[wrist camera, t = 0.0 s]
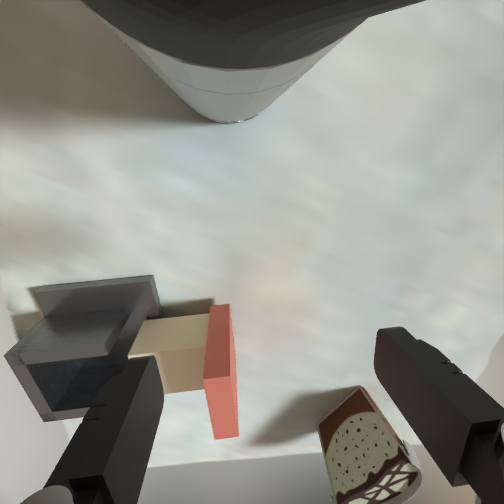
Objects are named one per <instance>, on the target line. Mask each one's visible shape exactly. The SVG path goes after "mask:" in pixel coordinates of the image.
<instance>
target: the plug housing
mask: <svg viewBox="0 0 504 504" xmlns="http://www.w3.org/2000/svg"><path fill="white" fill-rule="evenodd" d="M34 294H35V296H36V298H37V300H38V302H39V304H40V306H41V309H42V311H43V313H44V315H45V317H44V318H43V319H42V320H41V321H40V322H39V323H38V324H36V325H35V326H34V327H33V328H32V329H31V330H30V331H29V332H28V333H27V334H26V335H25V336H24V337H23V338H22V339H21V340H20V341H19V342H18V343H17V344H16V345H14V346H13V347H12V348H11V349H10V350H9V351H8V352H7V353H6V354H5V355H4V357H5V358H6V360H7V362H8V364H9V365H10V367H11V369H12V370H13V372H14V374H15V375H16V377H17V379H18V380H19V382H20V384H21V385H22V387H23V388H24V390H25V392H26V393H27V395H28V397H29V398H30V400H31V402H32V403H33V405H34V407H35V408H36V410H37V412H38V413H39V415H40V416H41V418H42V420H43V422H48V421H57V420H64V419H72V418H80V417H84V416H85V414H86V413H87V411H88V409H90V406H91V404H92V402H93V400H94V399H95V397H96V395H97V393H98V392H99V390H100V389H101V388H102V387H103V386H104V385H105V384H106V383H107V382H108V381H109V380H110V379H111V378H112V377H113V376H119V375H121V374H122V372H123V370H124V368H125V366H126V364H127V362H128V360H129V358H128V354H129V352H130V349H131V347H132V345H133V343H134V341H135V339H136V337H137V334H138V332H139V330H140V328H141V326H142V324H143V322H144V320H153V319H162V318H164V316H163V312H162V308H161V304H160V300H159V296H158V292H157V288H156V284H155V281H154V277H153V275H149V276H139V277H129V278H119V279H109V280H99V281H89V282H79V283H69V284H58V285H48V286H42V287H40V288H39V289H38V290H36V291H35V292H34Z"/></svg>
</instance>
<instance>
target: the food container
mask: <svg viewBox="0 0 504 504" xmlns="http://www.w3.org/2000/svg"><path fill="white" fill-rule="evenodd" d="M316 425H317V429H318V434H319V438H320V442H321V446H322V451H323V455H324V459H325V463H326V467H327V471H328V476H329V480H330V484H331V489H332V493H333V496H331V495H329V498H330V500H331V502H332V504H404V503H405V502H406V501H408V500H409V499H411V497H413V496H414V495H415V494H416V493H417V492H418V490H419V489H420V487H421V485H422V482H423V474H422V472H421V465H420V463H419V460H418V458H417V455H416V453H415V451H414V449H413V447H412V446H411V445H410V444H409V443H408V442H406V441H405V440H403V443H404V444H403V443H402V441H401V440H400V438H399V437H398V435H397V434H396V433H395V431H394V430H393V428H392V427H391V425H390V424H389V422H388V421H387V420H386V418H385V417H384V415H383V414H382V412H381V411H380V410H379V408H378V407H377V405H376V404H375V402H374V401H373V399H372V398H371V397H370V395H369V394H368V392H367V391H366V390H365V389H364V388H363V387H362V386H358V387H357V388H356V389H355V390H354V391H353V392H352V393H351V394H349V395H348V396H347V397H346V398H345V399H344V400H343V401H342V402H340V403H339V404H338V405H337V406H336V407H335V408H334V409H333V410H331V411H330V412H329V413H328V414H327V415H326V416H325V417H324V418H322V419H321V420H320V421H319V422H318V423H317V424H316ZM404 445H405V446H404Z"/></svg>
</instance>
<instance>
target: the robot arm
mask: <svg viewBox="0 0 504 504" xmlns="http://www.w3.org/2000/svg"><path fill="white" fill-rule="evenodd" d="M81 1H82V2H83V3H84V4H85V5H86V6H87V7H88V8H89V9H90V10H91V11H92V12H93V13H94V14H95V15H96V16H97V17H98V18H99V19H100V20H101V21H102V22H103V23H104V24H105V25H106V26H107V27H108V28H109V29H110V30H111V31H112V32H113V33H115V34H116V35H117V36H118V37H119V38H120V39H121V40H122V41H123V42H124V43H125V44H126V45H127V46H128V47H129V48H130V49H131V50H132V51H133V52H134V53H135V54H136V55H137V56H139V57H140V58H141V59H142V60H143V61H144V62H145V63H146V64H147V65H148V66H149V67H150V68H151V69H152V70H153V71H154V72H155V73H156V74H157V75H158V76H159V77H160V78H161V79H162V80H163V81H164V82H165V83H166V84H167V85H168V86H169V87H170V88H171V89H172V90H173V91H174V92H175V93H176V94H177V95H178V96H179V97H180V98H181V99H182V100H183V101H184V102H185V103H186V104H188V105H189V106H190V107H191V108H192V109H193V110H195V111H196V112H197V113H198V114H200V115H202V116H203V117H205V118H207V119H209V120H212V121H216V122H219V123H230V124H234V123H239V122H244V121H246V120H249V119H251V118H253V117H255V116H257V115H259V114H260V113H261V112H262V111H263V110H264V109H266V108H267V107H268V106H269V105H270V104H272V103H273V102H274V101H275V100H276V99H277V98H278V97H279V96H281V95H282V94H283V93H284V92H285V91H286V90H287V89H288V88H289V87H291V86H292V85H293V84H294V83H295V82H296V81H297V80H298V79H300V78H301V77H302V76H303V75H304V74H305V73H306V72H307V71H309V70H310V69H311V68H312V67H313V66H314V65H315V64H316V63H317V62H318V61H319V60H320V59H322V58H323V57H324V56H325V55H326V54H327V53H328V52H329V51H331V50H332V49H333V48H334V47H335V46H336V45H337V44H338V43H340V42H341V41H342V40H343V39H344V38H345V37H346V36H347V35H348V34H350V33H351V32H352V31H353V30H354V29H355V28H356V27H357V26H358V25H360V24H361V23H362V22H363V21H365V20H366V19H367V18H368V17H371V16H375V15H378V14H381V13H385V12H388V11H392V10H395V9H398V8H402V7H405V6H408V5H412V4H415V3H419V2H422V1H425V0H81ZM374 369H375V373H376V375H377V378H378V380H379V381H380V383H381V384H382V386H383V387H384V389H385V390H386V391H387V393H388V394H389V396H390V397H391V399H392V400H393V402H394V403H395V404H396V406H397V407H398V409H399V410H400V412H401V413H402V415H403V416H404V418H405V419H406V420H407V422H408V423H409V425H410V426H411V428H412V429H413V431H414V432H415V433H416V435H417V436H418V438H419V439H420V441H421V442H422V444H423V445H424V446H425V448H426V449H427V451H428V452H429V454H430V455H431V457H432V458H433V460H434V461H435V462H436V464H437V465H438V467H439V468H440V470H441V471H442V473H443V474H444V475H445V477H446V478H447V480H448V481H449V483H450V484H451V485H452V487H455V486H462V485H468V484H469V485H470V486H471V487H472V489H473V490H474V491H475V493H476V494H477V495H476V500H475V503H476V504H504V408H503V407H502V406H500V404H498V403H497V402H496V401H495V400H494V399H493V398H492V397H491V396H489V395H488V394H487V393H486V392H485V391H484V390H483V389H481V388H480V387H479V386H478V385H477V384H476V383H475V382H474V381H473V380H471V379H470V378H469V377H468V376H467V375H466V374H463V373H462V371H461V370H460V369H459V368H458V367H457V366H456V365H455V364H454V363H451V361H450V360H449V359H448V358H447V357H446V356H445V355H443V354H442V353H441V352H440V351H439V350H438V349H437V348H435V347H433V346H431V345H429V344H428V343H426V342H424V341H422V340H420V339H419V340H416V339H415V338H414V337H413V336H412V335H411V334H410V333H409V332H408V331H407V330H406V329H405V328H403V327H392V328H383V329H379V330H378V332H377V337H376V346H375V355H374ZM163 403H164V389H163V385H162V381H161V377H160V373H159V369H158V365H157V361H156V358H155V356H154V355H150V356H142V357H133V358H130V359H129V360H128V362H127V364H126V366H125V368H124V370H123V372H122V374H121V375H119V376H113V377H112V378H111V379H110V380H109V381H108V382H107V383H106V384H105V385H104V386H103V387H102V388H101V389H100V390H99V392H98V393H97V395H96V397H95V399H94V400H93V402H92V404H91V406H90V409H88V411H87V413H86V414H85V416H84V418H83V421H82V423H80V425H79V427H78V428H77V430H76V432H75V434H74V435H73V437H72V439H71V441H70V442H69V444H68V446H67V448H66V450H65V451H64V453H63V455H62V457H61V458H60V460H59V462H58V464H57V465H56V467H55V469H54V471H53V472H52V474H51V476H50V478H49V479H48V481H47V483H46V484H45V486H44V487H43V489H42V490H39V491H37V492H36V493H34V494H32V495H31V496H29V497H28V498H27V499H25V500H24V501H23V502H21V503H20V504H137V502H138V498H139V494H140V491H141V487H142V483H143V479H144V475H145V472H146V468H147V465H148V461H149V457H150V454H151V450H152V446H153V442H154V439H155V435H156V431H157V428H158V424H159V420H160V416H161V413H162V409H163Z"/></svg>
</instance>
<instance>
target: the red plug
mask: <svg viewBox="0 0 504 504" xmlns="http://www.w3.org/2000/svg"><path fill="white" fill-rule="evenodd" d="M150 355H154V356H155V358H156V361H157V365H158V369H159V373H160V377H161V381H162V385H163V389H164V394H168V393H176V392H184V391H192V390H200V389H205V393H206V398H207V403H208V408H209V413H210V418H211V423H212V428H213V433H214V438H215V440H216V439H224V438H231V437H238V436H239V429H238V404H237V379H236V354H235V346H234V338H233V330H232V321H231V313H230V305H229V304H225V305H215V306H210V313H208V314H199V315H190V316H180V317H171V318H162V319H153V320H144V322H143V324H142V326H141V328H140V330H139V332H138V334H137V337H136V339H135V341H134V343H133V345H132V347H131V349H130V352H129V354H128V358H129V359H130V358H133V357H142V356H150Z"/></svg>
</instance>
